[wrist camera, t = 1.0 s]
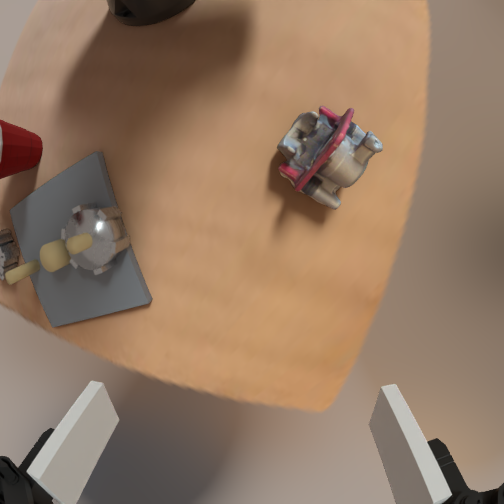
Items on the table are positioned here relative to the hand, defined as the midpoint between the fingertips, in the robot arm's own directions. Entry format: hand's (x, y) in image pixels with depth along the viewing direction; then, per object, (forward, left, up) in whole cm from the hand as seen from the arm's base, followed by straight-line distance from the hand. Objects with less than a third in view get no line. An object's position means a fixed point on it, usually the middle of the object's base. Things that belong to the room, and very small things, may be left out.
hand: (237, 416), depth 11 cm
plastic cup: (-28, -29, -26) cm, 48 cm away
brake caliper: (-11, +12, -26) cm, 30 cm away
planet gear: (-15, -44, -26) cm, 53 cm away
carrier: (-10, -26, -26) cm, 38 cm away
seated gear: (-10, -18, -24) cm, 32 cm away
